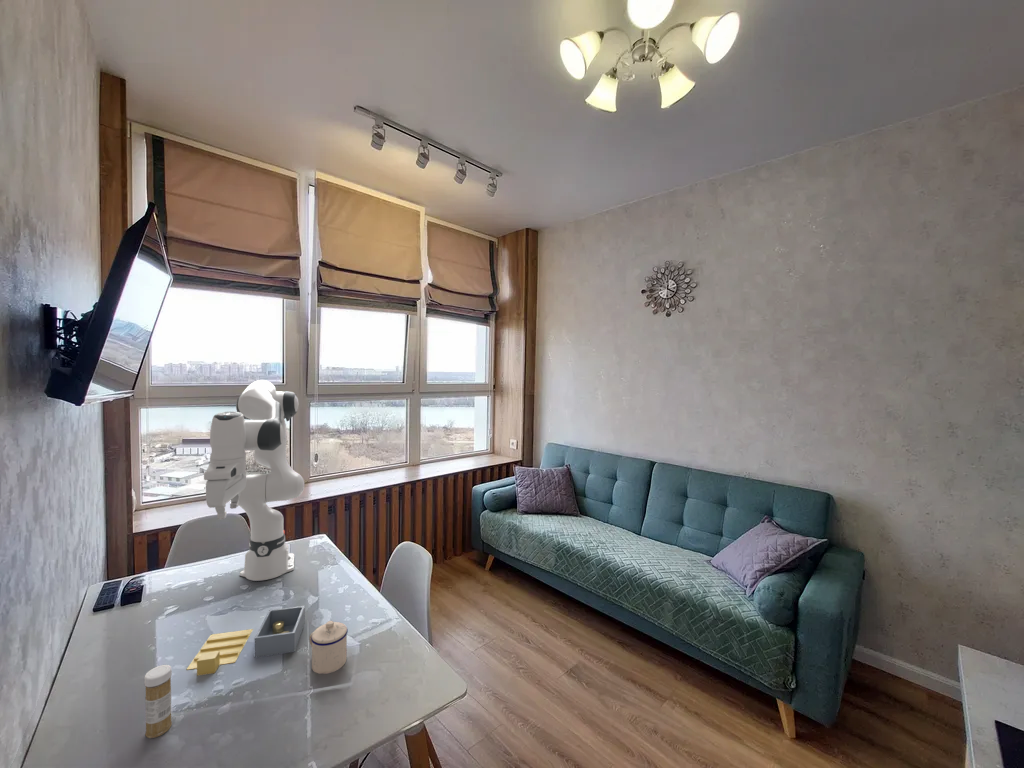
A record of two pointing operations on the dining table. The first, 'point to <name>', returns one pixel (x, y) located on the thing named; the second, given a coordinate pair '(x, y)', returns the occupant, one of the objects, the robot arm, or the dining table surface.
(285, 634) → the tub
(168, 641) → the dining table surface
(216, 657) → the yellow flat ridged piece
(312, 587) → the dining table surface
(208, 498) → the robot arm
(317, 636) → the teacup with lid
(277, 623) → the ball
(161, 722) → the sprinkles bottle
